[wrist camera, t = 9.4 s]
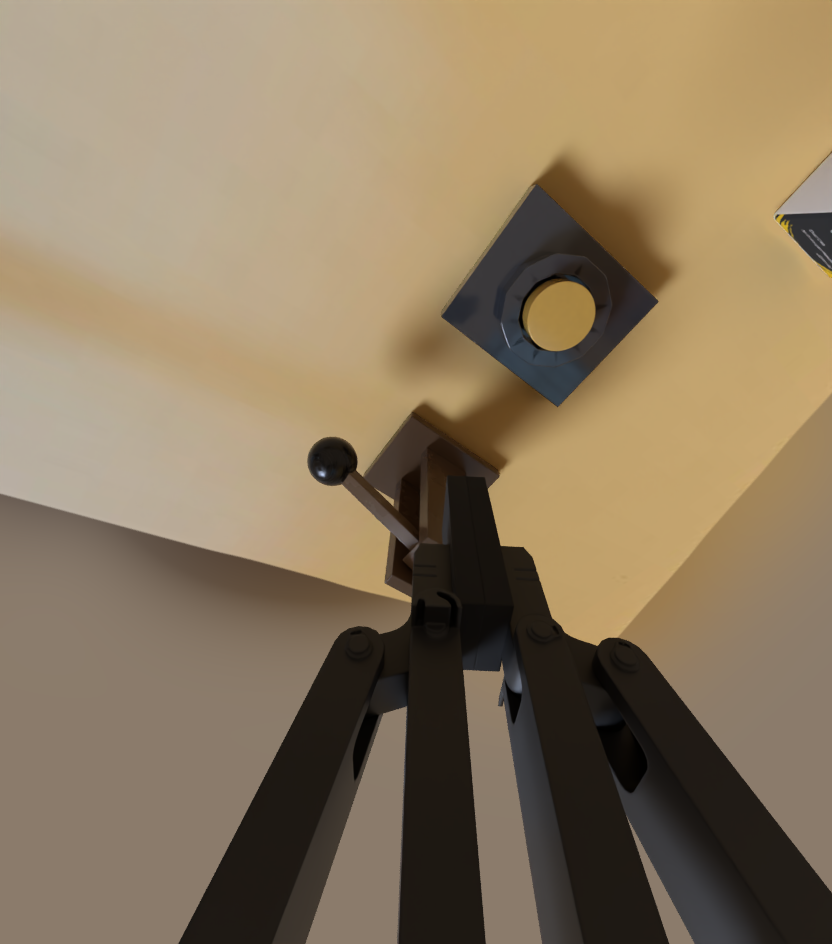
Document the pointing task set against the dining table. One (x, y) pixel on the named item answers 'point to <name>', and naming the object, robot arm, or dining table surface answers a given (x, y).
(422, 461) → the lever bracket
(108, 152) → the dining table surface
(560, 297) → the tan short cylinder
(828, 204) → the medicine bottle
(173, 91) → the dining table surface
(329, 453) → the flush lever
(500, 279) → the button base
